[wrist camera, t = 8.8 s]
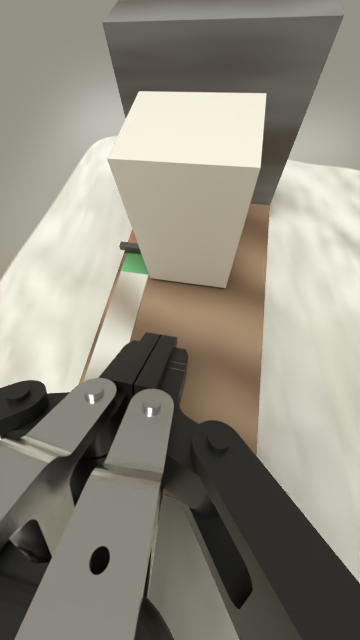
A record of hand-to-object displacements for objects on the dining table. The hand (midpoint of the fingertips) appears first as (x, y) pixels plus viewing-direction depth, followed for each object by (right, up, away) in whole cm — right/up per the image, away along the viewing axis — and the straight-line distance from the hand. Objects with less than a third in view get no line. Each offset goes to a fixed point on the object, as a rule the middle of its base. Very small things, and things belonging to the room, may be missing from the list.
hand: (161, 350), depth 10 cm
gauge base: (+2, +4, +8) cm, 9 cm away
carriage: (+1, +8, +7) cm, 11 cm away
